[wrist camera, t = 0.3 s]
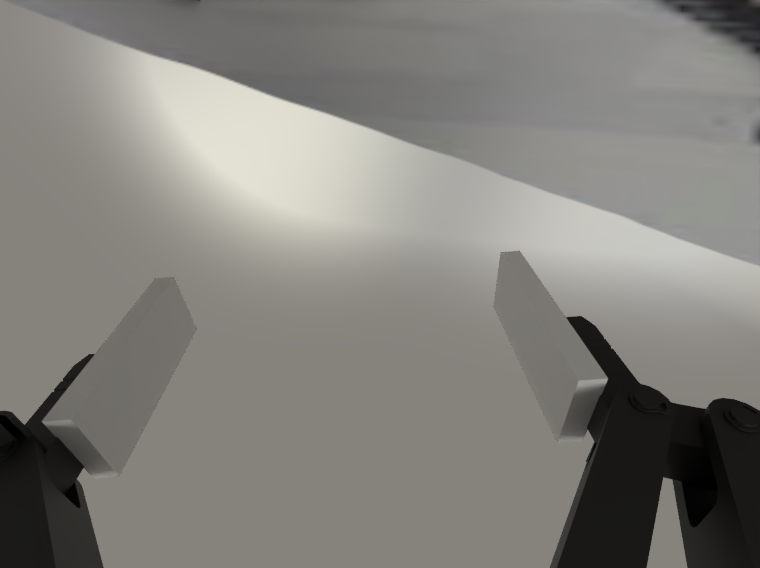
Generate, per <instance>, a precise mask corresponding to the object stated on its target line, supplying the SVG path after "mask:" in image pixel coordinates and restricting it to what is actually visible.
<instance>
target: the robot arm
mask: <svg viewBox="0 0 760 568" xmlns="http://www.w3.org/2000/svg"><path fill="white" fill-rule="evenodd" d="M493 307H494V309H495V311H496V313H497V315H498V317H499V320H500V322H501V324H502V326H503V328H504V330H505V332H506V335H507V337H508V339H509V341H510V343H511V345H512V347H513V349H514V351H515V354H516V356H517V358H518V360H519V362H520V364H521V367H522V369H523V371H524V373H525V375H526V377H527V380H528V382H529V384H530V386H531V388H532V390H533V392H534V395H535V397H536V399H537V401H538V403H539V405H540V407H541V409H542V412H543V414H544V416H545V418H546V420H547V422H548V425H549V427H550V429H551V431H552V433H553V435H554V437H555V440H556V442H557V443H565V442H578V441H583V439H584V437H585V434H586V432H587V429H588V430H589V432H590V434H591V436H592V437H593V439H594V441H595V442H594V444H593V446H592V449H591V451H590V453H589V456H588V458H587V460H586V462H587V464H586V466H585V469H584V472H583V475H582V478H581V480H580V483H579V486H578V489H577V492H576V495H575V497H574V500H573V503H572V506H571V509H570V512H569V515H568V517H567V520H566V523H565V526H564V529H563V532H562V535H561V537H560V540H559V543H558V546H557V549H556V552H555V554H554V557H553V560H552V563H551V566H550V568H646V567H647V562H648V556H649V551H650V545H651V540H652V534H653V529H654V523H655V518H656V513H657V507H658V501H659V496H660V491H661V486H662V480H663V477H665V478H669V479H673V484H674V490H675V497H676V502H677V508H678V514H679V520H680V526H681V532H682V538H683V544H684V549H685V555H686V561H687V567H688V568H760V411H759V410H757V409H755V408H754V407H752V406H750V405H748V404H746V403H743V402H740V401H737V400H734V399H726V398H721V399H716V400H713V401H712V402H711V403H710V404H709V405H708V407H707V409H702V408H696V407H691V406H686V405H680V404H675V403H671V402H670V401H669V399H668V398H666V397H665V396H664V395H663V394H662V393H660V392H659V391H657V390H655V389H653V388H651V387H649V386H646V385H642V384H640V383H639V382H638V381H637V380H636V379H635V377H634V376H633V374H632V373H631V372H630V371H629V369H628V368H627V367H626V365H625V364H624V363H623V362H622V360H621V359H620V358H619V356H618V355H617V354H616V352H615V351H614V350H613V349H611V346H610V345H609V343H608V342H607V341H606V339H604V337H603V335H602V334H601V333H600V332H599V330H598V329H597V328H596V326H595V325H593V324H592V323H590V322H589V321H588V320H586V319H585V318H583V317H582V316H577V317H565V315H564V314H563V313H562V311H561V310H560V308H559V307H558V305H557V304H556V302H555V301H554V299H553V298H552V297H551V295H550V294H549V292H548V291H547V289H546V288H545V287H544V285H543V284H542V282H541V281H540V279H539V278H538V277H537V275H536V274H535V272H534V271H533V269H532V268H531V266H530V265H529V264H528V262H527V261H526V259H525V258H524V256H523V255H522V253H521V252H520V251H512V252H501V254H500V261H499V269H498V277H497V284H496V291H495V299H494V306H493ZM196 330H197V328H196V326H195V323H194V321H193V319H192V317H191V314H190V312H189V310H188V308H187V305H186V303H185V301H184V299H183V296H182V294H181V292H180V290H179V287H178V285H177V283H176V280H175V278H174V277H169V278H157V279H154V280H153V282H152V283H151V284H150V285H149V287H148V288H147V289H146V291H145V292H144V293H143V294H142V296H141V297H140V298H139V299H138V301H137V302H136V303H135V305H134V306H133V307H132V308H131V309H130V311H129V312H128V313H127V314H126V316H125V317H124V318H123V319H122V321H121V322H120V323H119V324H118V326H117V327H116V328H115V330H114V331H113V332H112V333H111V335H110V336H109V337H108V338H107V340H106V341H105V342H104V343H103V345H102V346H101V347H100V348H99V350H98V351H97V352H96V354H89V355H88V356H86V357H85V358H84V359H82V360H81V361H80V362H78V363H77V364H76V365H74V366H73V367H72V369H71V370H70V371H69V372H68V373H67V375H66V376H65V377H64V378H63V381H62V382H60V383H59V385H58V386H57V387H56V388H55V389H54V390H55V391H54V392H52V393H51V394H50V395H49V397H48V398H47V399H46V400H45V401H44V402H43V404H42V405H41V406H40V407H39V409H38V410H37V411H36V412H35V413H34V415H33V416H32V417H31V418H30V419H29V421H28V422H27V423H26V424H25V425H24V424H23V423H22V422H21V421H20V420H19V419H18V418H17V417H16V416H15V415H14V414H13V413H12V412H8V411H0V568H103V564H102V560H101V556H100V553H99V549H98V545H97V541H96V537H95V534H94V530H93V526H92V522H91V518H90V515H89V511H88V507H87V503H86V500H85V496H84V492H83V488H82V486H81V484H80V482H79V481H78V480H77V477H78V476H79V474H80V473H81V471H82V469H83V468H85V469H86V471H87V472H88V473H89V474H90V475H91V476H92V477H93V478H104V477H117V476H120V474H121V472H122V470H123V468H124V466H125V464H126V462H127V460H128V459H129V457H130V455H131V453H132V451H133V449H134V447H135V445H136V444H137V442H138V440H139V438H140V436H141V434H142V432H143V430H144V428H145V427H146V425H147V423H148V421H149V419H150V417H151V415H152V413H153V411H154V410H155V408H156V406H157V404H158V402H159V400H160V398H161V396H162V394H163V392H164V391H165V389H166V387H167V385H168V383H169V381H170V379H171V377H172V375H173V374H174V372H175V370H176V368H177V366H178V364H179V362H180V360H181V358H182V356H183V354H184V353H185V350H186V349H187V347H188V345H189V343H190V341H191V339H192V338H193V336H194V334H195V332H196Z"/></svg>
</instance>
